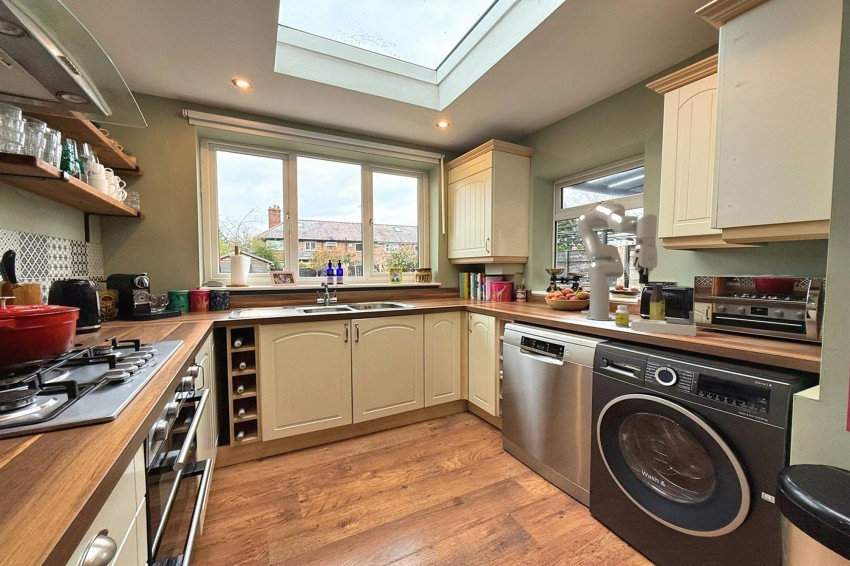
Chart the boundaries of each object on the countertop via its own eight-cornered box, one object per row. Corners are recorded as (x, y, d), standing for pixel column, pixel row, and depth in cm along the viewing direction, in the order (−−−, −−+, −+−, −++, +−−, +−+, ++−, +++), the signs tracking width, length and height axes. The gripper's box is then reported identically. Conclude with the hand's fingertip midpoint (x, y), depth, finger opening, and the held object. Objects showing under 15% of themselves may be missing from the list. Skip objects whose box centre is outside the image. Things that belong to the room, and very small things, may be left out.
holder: (631, 330, 148) (631, 321, 148) (634, 327, 158) (635, 318, 157) (695, 336, 135) (696, 326, 134) (695, 332, 144) (695, 323, 144)
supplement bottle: (612, 326, 161) (613, 305, 161) (620, 325, 163) (621, 305, 163) (623, 327, 156) (623, 306, 156) (631, 327, 158) (632, 306, 158)
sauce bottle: (664, 324, 167) (665, 284, 166) (648, 323, 171) (649, 283, 170) (664, 323, 172) (665, 284, 172) (649, 322, 176) (650, 283, 175)
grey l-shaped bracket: (665, 322, 142) (666, 311, 142) (667, 320, 148) (667, 309, 148) (693, 324, 137) (693, 313, 136) (693, 322, 143) (693, 311, 143)
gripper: (642, 241, 145) (640, 284, 146) (665, 242, 151) (663, 284, 152) (626, 242, 152) (624, 283, 153) (648, 243, 158) (646, 283, 159)
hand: (643, 283), depth 153 cm, fingers closed
